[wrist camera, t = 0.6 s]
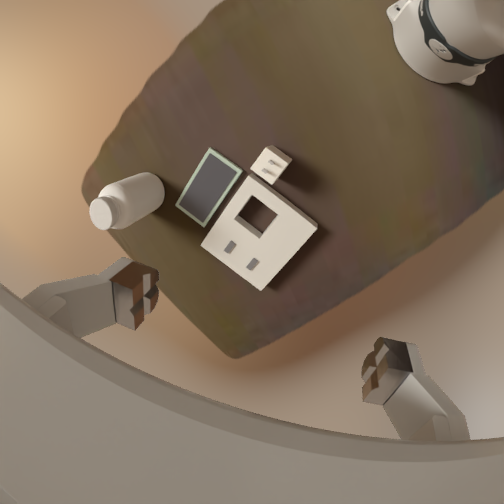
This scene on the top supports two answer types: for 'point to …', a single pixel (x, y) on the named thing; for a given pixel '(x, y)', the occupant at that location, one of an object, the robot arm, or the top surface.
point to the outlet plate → (258, 234)
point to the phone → (208, 186)
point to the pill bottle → (127, 201)
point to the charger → (271, 164)
